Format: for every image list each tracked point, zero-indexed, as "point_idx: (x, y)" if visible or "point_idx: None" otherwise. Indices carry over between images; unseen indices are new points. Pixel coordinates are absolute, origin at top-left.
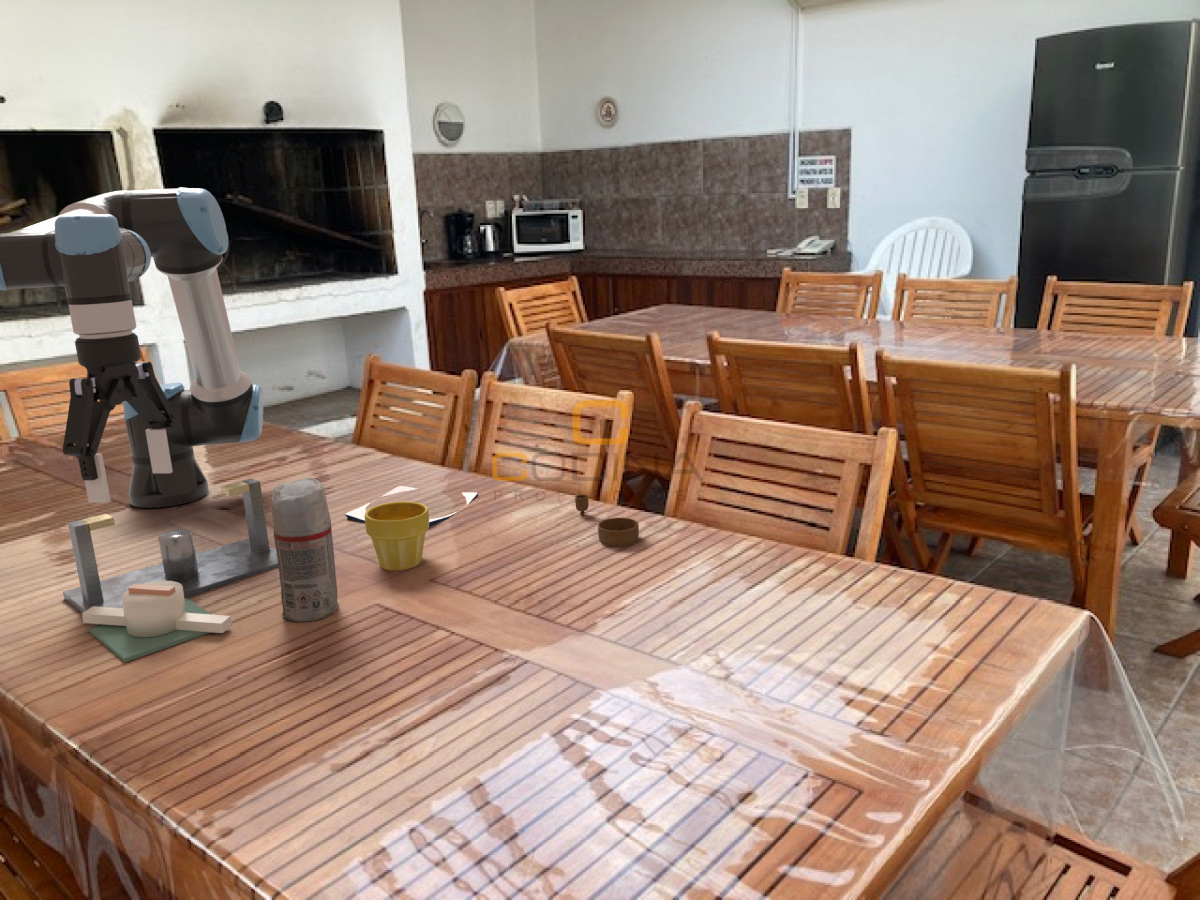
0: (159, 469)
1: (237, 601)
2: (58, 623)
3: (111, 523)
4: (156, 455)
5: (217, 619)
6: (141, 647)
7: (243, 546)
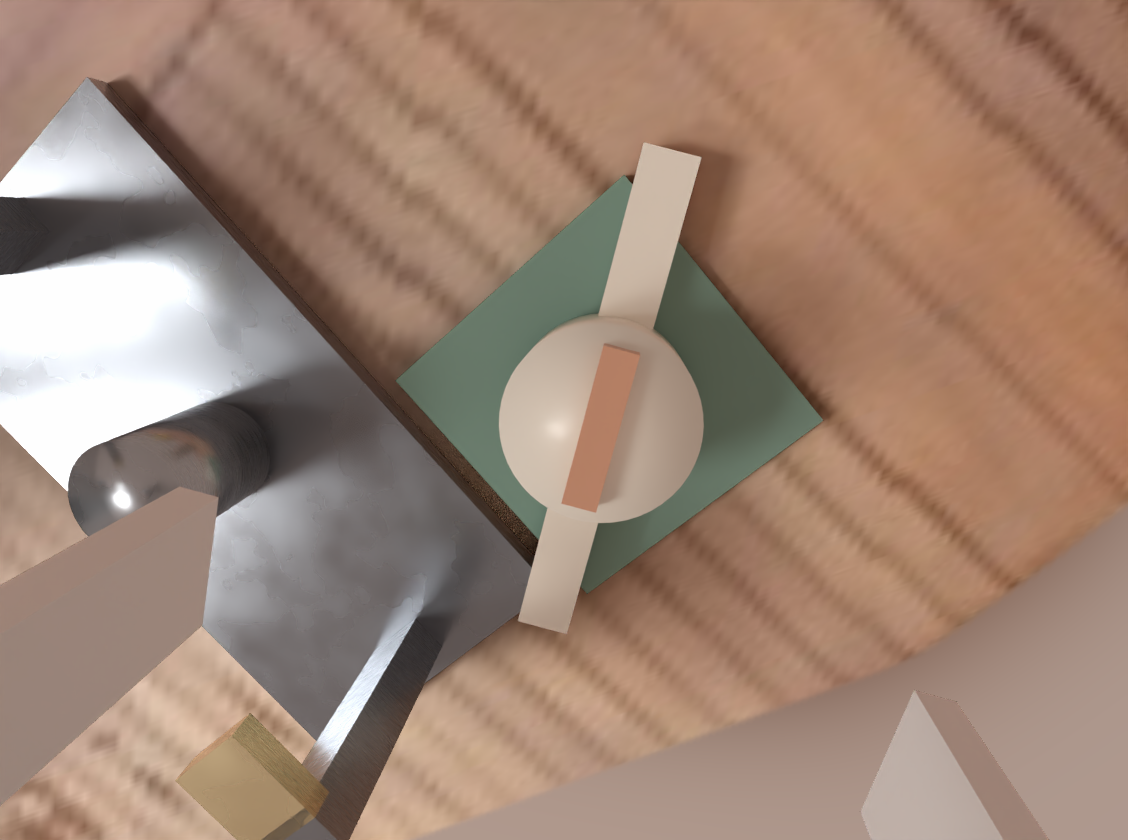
0: (190, 585)
1: (416, 204)
2: (507, 693)
3: (254, 728)
4: (105, 656)
5: (666, 182)
6: (755, 395)
7: None
